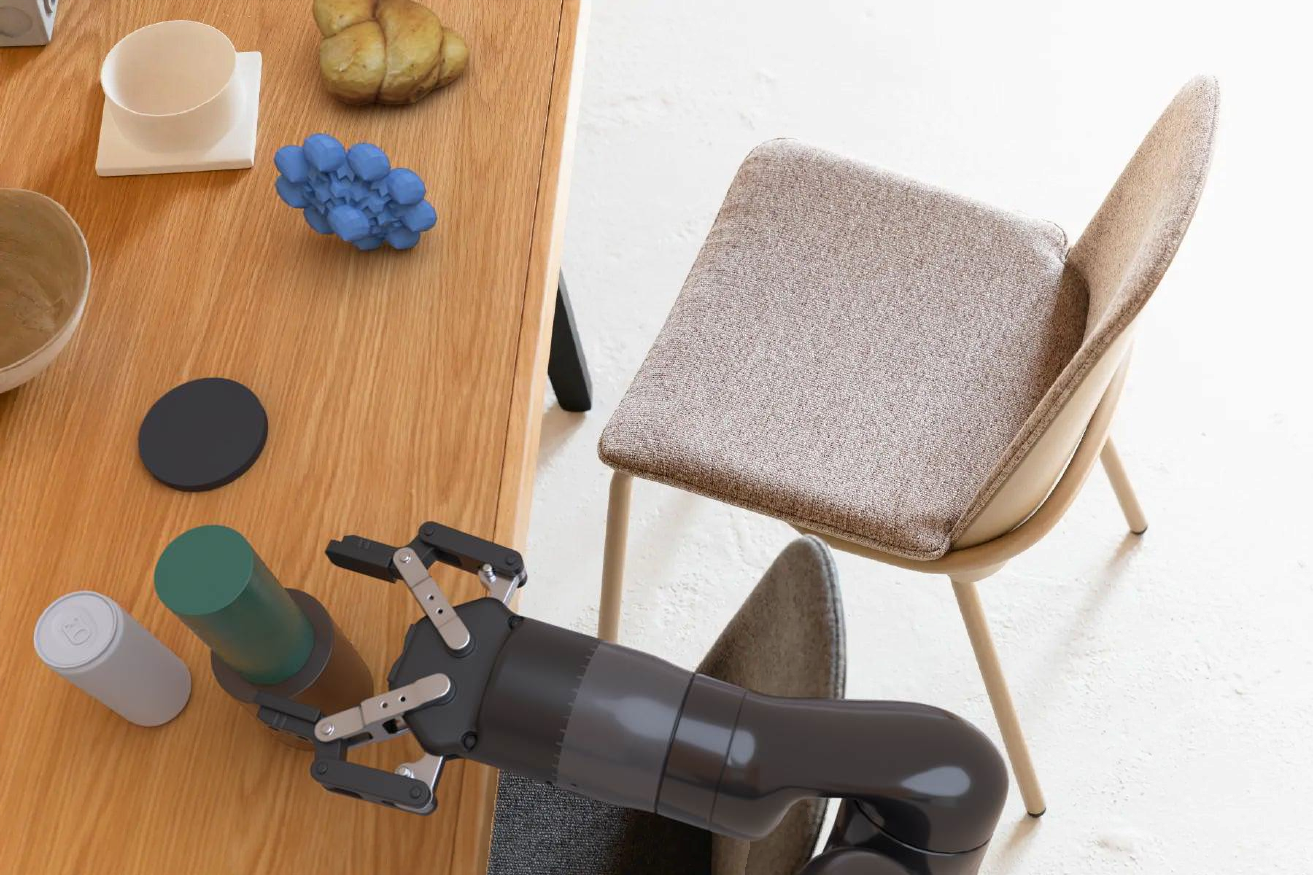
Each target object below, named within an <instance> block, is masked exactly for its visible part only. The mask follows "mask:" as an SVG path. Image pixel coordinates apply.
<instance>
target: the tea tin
mask: <svg viewBox="0 0 1313 875" xmlns="http://www.w3.org/2000/svg"><path fill="white" fill-rule="evenodd" d="M153 584H154V590H155V593H156V595H157V597H158V599H159V600H160V602H161V603H162V604H163V605H164V606H165V607H166V608H167V609H168V610H169V611H170V612H171V613H172V614H173V615H174V616H175V617H177V618H178V620H180V621H181V622H182V623H183V624H184V626H186V627H187V628H188V629H189V630H190V631H191V632H192V633H193V634H194V635H196V637H198V638H199V639H200V640H201V641H202V642H203V643H204V645H206V646H207V647H208V648H209V649H210V650H211V649H212V650H213V651H214V652H215V653H216V654H217V655H218V656H219V657H220V658H221V659H222V660H223V661H224V662H225V663H226V664H227V665H228V666H229V667H231V668H232V669H233V670H234V671H235V672H236V673H237V674H238V675H239V676H240V677H241V678H243V679H244V680H246V681H248V682H250V683H253V684H257V685H273V684H277V683H280V682H283V681H285V680H287V679H289V678H291V677H292V676H294V675H295V674H296V673H298V672H299V671H300V670H301V669H302V667H303V666H304V665H305V664H306V662H307V661H308V659H309V657H310V655H311V652H312V650H313V645H314V632H313V628H312V625H311V623H310V621H309V619H308V618H307V617H306V615H305V614H304V613H303V612H302V610H301V609H300V608H299V606H298V605H297V604H296V603H295V601H294V600H293V599H292V597H291V596H290V595H289V594H288V592H287V591H286V590H285V589H284V588H285V587H284V585H283V584H282V583H281V582H280V581H279V579H278V578H277V577H276V575H275V574H274V573H273V572H272V570H271V569H270V568H269V567H268V565H267V564H266V563H265V561H264V560H263V559H262V558H261V556H260V555H259V554H258V553H257V551H256V550H255V549H254V547H253V546H252V545H251V544H250V542H249V541H248V539H246V537H245V536H244V535H242V533H240V532H239V531H238V530H236V529H234V528H232V527H229V526H226V525H221V524H204V525H200V526H197V527H192V528H191V529H189V530H186V531H184V532H183V533H181V534H179V535H178V536H177V537H175V538H174V539H173V540H171V541H170V542H169V543H168V545H167V546H166V547H165V548H164V549H163V551H162V552H161V554H160V555H159V557H158V560H157V562H156V565H155V568H154V573H153Z"/></svg>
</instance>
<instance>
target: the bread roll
mask: <svg viewBox="0 0 1313 875" xmlns="http://www.w3.org/2000/svg"><path fill="white" fill-rule="evenodd" d="M311 12H312V17H313V19H314V22H315V24H316V27H317V28H318V30H319V32H320V35H321V36H322V37H324V38H323V39H322V40H321V41H320V44H319V48H318V50H319V63H320V64H319V65H320V71H321V77H322V80H323V85H324V86H325V89H326V90H327V92H328V93H329V95H331V96H332V97H333V98H335V99H337V100H340V101H342V102H343V103H345V104H348V105H355V106H361V105H367V104H371V103H372V102H376V103H379V104H384V105H402V104H403V105H407V104H415V103H416V102H417V101H419V100H420V99H422V98H423V97H425V96H426V95H427V94H429V93H430V92H431V90H435V89H438V88H443V87H446V86H447V85H448V84H450V83H452V82H453V81H454V80H455V79H457V78H458V77H459V76H460V75H462V73H464V71H465V69H466V68H467V66H468V64H469V62H470V49H469V46H468V44H467V43H466V41H465V39H464V37H463V36H462V35H461V34H460V33H459V32H457V31H456V30H454V29H453V28H452V27H449V26H443V25H442V23H441V19H440V17H439V16H438V15H437V13H436V12H435V11H433V10H432V9H430V8H429V7H428V6H426V5H424V4H422V3H419V2H417V1H414V0H313V2H312V6H311Z"/></svg>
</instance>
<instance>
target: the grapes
mask: <svg viewBox="0 0 1313 875" xmlns="http://www.w3.org/2000/svg"><path fill="white" fill-rule="evenodd" d="M273 162H274V166H275V168H276V170H277V171H278V173H280V175H279V176H277V177H276V180H275V183H274V187H275V190H276V193H277V195H278V196H279V198H280V199H281V200H282V201H283V202H284V203H285V204H286V205H287V206H289V207H290V208H293V209H297V210H298V209H300V210H303V211H302V214H303V217H304V221H305V222H306V224H308V226H309V227H310V229H312V230H314V231H315V232H316V233H317V234H320V235H326V236H327V235H328V236H329V235H334V234H335V235H336V236H337V237H338V238H339V239H341V241H344V242H350V243H351V245H353V246H354V247H355V248H357V249H358V250H361V251H371V250H376V249H378V248H379V247H381V246H382V245H383V244H384V242H386V243H387V244H388V245H390V246H391V247H392V248H394V249H396V250H408V249H412V248H414V247H415V246H416V245H419V242H420V239H421V237H422V235H421V233H424V232H428V231H430V230H432V229H433V228H434V227H435V226H436V224H437V220H438V216H437V212H436V209H435V208H434V207H433V205H432V204H431V202H429V201H428V200H426V199H425V196H426V194H427V189H426V184H425V182H424V181H423V179H421V177H420V175H418V174H417V173H416V172H414V171H413V170H411V169H410V168H406V167H395V168H392V165H391V163H390V162H391V161H390V159H389V157H388V155H387V154H386V153H385V151H383V149H382V148H380V147H378V146H377V145H376V144H374V143H370V142H364V141H363V142H358V143H354V144H352V145H351V146H350V147H349V148H348V149H347V150H346V148H345V147H344V145H343V144H342V143H341V142H340V141H339V140H338V139H337V138H335V137H334V136H332V135H331V134H327V133H323V132H318V133H313V134H310V135H309V136H308V137H307V136H306V138H305V139H303V143H302V146H300V145H295V144H290V145H284V146H281V147H280V148H279V149H277V150H276V151H275V154H274V157H273Z"/></svg>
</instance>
